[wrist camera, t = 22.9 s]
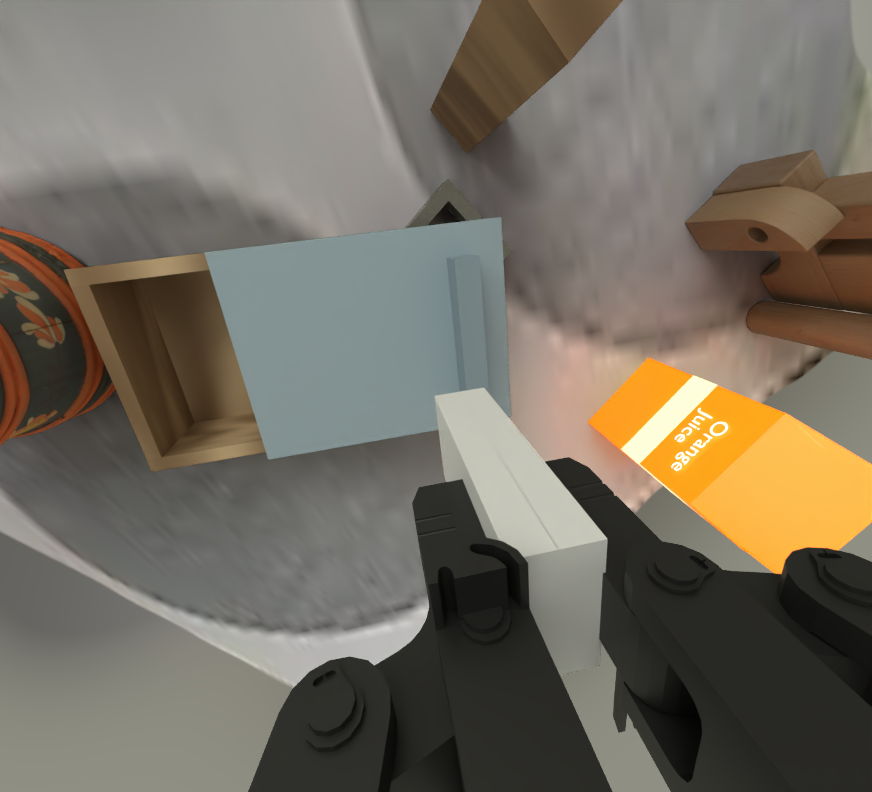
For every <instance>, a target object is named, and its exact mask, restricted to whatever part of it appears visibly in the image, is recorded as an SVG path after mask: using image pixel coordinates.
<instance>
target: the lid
mask: <svg viewBox="0 0 872 792" xmlns="http://www.w3.org/2000/svg"><path fill="white" fill-rule="evenodd" d="M204 254H205V257H206V260H207V263H208V266H209V270H210V273H211V276H212V279H213V283H214V286H215V289H216V292H217V296H218V299H219V302H220V305H221V309H222V312H223V315H224V318H225V321H226V325H227V328H228V331H229V334H230V338H231V341H232V344H233V347H234V351H235V354H236V357H237V360H238V363H239V367H240V370H241V373H242V376H243V380H244V383H245V386H246V389H247V393H248V396H249V399H250V402H251V406H252V409H253V412H254V415H255V418H256V422H257V425H258V428H259V431H260V435H261V438H262V441H263V444H264V448H265V451H266V454H267V457H268V460H270V459H275V458H281V457H287V456H292V455H298V454H304V453H309V452H315V451H321V450H327V449H332V448H338V447H344V446H349V445H355V444H361V443H366V442H372V441H378V440H383V439H389V438H395V437H400V436H406V435H412V434H418V433H423V432H429V431H435V430H438V422H437V413H436V405H435V397H434V396H436V395H442V394H448V393H454V392H461V391H467V390H473V389H479V388H485V389H486V391H487V392H488V393H489V394H490V395H491V397H492V398H493V399H494V400H495V402H496V403H497V404H498V405H499V406H500V408H501V409H502V410H503V411H504V413H505V414H506V415H507V416H508V418H509V417H511V404H510V384H509V363H508V343H507V322H506V302H505V282H504V261H503V241H502V220H501V217H496V218H487V219H479V220H471V221H462V222H454V223H446V224H437V225H429V226H421V227H412V228H404V229H395V230H387V231H379V232H370V233H362V234H354V235H345V236H337V237H329V238H320V239H312V240H304V241H295V242H287V243H279V244H270V245H262V246H254V247H245V248H237V249H229V250H220V251H212V252H204Z"/></svg>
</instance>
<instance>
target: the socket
mask: <svg viewBox="0 0 872 792" xmlns="http://www.w3.org/2000/svg"><path fill="white" fill-rule="evenodd" d="M443 206H445V207H446V208H447V209H448V210H449V211H450V212H451V213H452V214H453V215H454V217H455V218H456V219H457V220H458V221H459V222H462V221H471V220H479V219H483V218H482V216H481V215H480V214H479V213H478V212H477V211H476V210H475V209H474V208H473V206H472V205H471V204H470V203H469V202H468V201H467V200H466V199H465V197H464V196H463V195H462V194H461V193H460V192H459V191H458V190H457V188H456V187H455V186H454V185H453V184H452V183H451V182H450V181H449V180H447V181H445V182H444V183H443V184H442V185H441V186H440V187H439V188H438V190H437V191H436V192H435V193H434V194H433V195H432V197H431V198H430V199H429V200H428V201H427V202H426V204H425V205H424V206H423V207H422V208H421V209H420V211H419V212H418V213H417V214H416V215H415V217H414V218H413V219H412V220H411V221H410V222H409V224H408V225H407V226H406V227H405V228H412V227H421V226H427V225H428V224H429V223H430V222H431V220H432V219H433V218H434V217H435V216H436V215H437V213H438V212H439V211H440V210H441V209H442V208H443ZM502 241H503V240H502ZM511 252H512V250H511V249H510V248H509V247H508V246H507V244H506V243H505V242H504V241H503V261H504V259H505V258H506V257H507V256H508V255H509V254H510V253H511Z"/></svg>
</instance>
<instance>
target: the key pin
mask: <svg viewBox="0 0 872 792" xmlns="http://www.w3.org/2000/svg"><path fill="white" fill-rule="evenodd" d="M622 1H623V0H482V2H481V4H480V6H479V8H478V10H477V12H476V14H475V16H474V18H473V21H472V23H471V25H470V27H469V29H468V31H467V33H466V35H465V37H464V40H463V42H462V44H461V46H460V48H459V50H458V52H457V54H456V56H455V59H454V61H453V63H452V65H451V67H450V69H449V71H448V73H447V75H446V78H445V80H444V82H443V84H442V86H441V88H440V90H439V92H438V94H437V96H436V99H435V101H434V103H433V105H432V107H431V109H430V110H431V111H432V112H433V113H434V115H435V116H436V117H437V118H438V119H439V120H440V122H441V123H442V124H443V125H444V126H445V128H446V129H447V130H448V131H449V132H450V133H451V135H452V136H453V137H454V138H455V139H456V141H457V142H458V143H459V144H460V145H461V147H462V148H463V149H464V150H465V151H466V152H467V153H468V152H470V151H471V150H472V149H473V148H474V147H475V146H476V145H477V144H479V143H480V142H481V141H482V140H483V139H484V138H485V137H486V136H487V135H489V134H490V133H491V132H492V131H493V130H494V129H495V128H496V127H497V126H499V125H500V124H501V123H502V122H503V121H504V120H505V119H506V118H508V117H509V116H510V115H511V114H512V113H513V112H514V111H515V110H516V109H518V108H519V107H520V106H521V105H522V104H523V103H524V102H525V101H527V100H528V99H529V98H530V97H531V96H532V95H533V94H534V93H535V92H537V91H538V90H539V89H540V88H541V87H542V86H543V85H544V84H545V83H547V82H548V81H549V80H550V79H551V78H552V77H553V76H554V75H556V74H557V73H558V72H559V71H560V70H561V69H562V68H563V67H564V66H566V65H567V64H568V63H569V62H570V61H571V60H572V58H573V57H574V56H575V55H576V54H577V53H578V51H579V50H580V49H581V48H582V47H583V46H584V45H585V43H586V42H587V41H588V40H589V39H590V38H591V36H592V35H593V34H594V33H595V32H596V31H597V30H598V28H599V27H600V26H601V25H602V24H603V23H604V21H605V20H606V19H607V18H608V17H609V16H610V15H611V13H612V12H613V11H614V10H615V9H616V8H617V6H618V5H619V4H620V3H621V2H622Z"/></svg>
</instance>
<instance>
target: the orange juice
mask: <svg viewBox="0 0 872 792" xmlns="http://www.w3.org/2000/svg"><path fill="white" fill-rule="evenodd" d="M588 423H589V424H591V425H592V426H593V427H594V428H595V429H596V430H598V431H599V432H600V433H601V434H602V435H603V436H605V437H606V438H607V439H608V440H609V441H611V442H612V443H613V444H614V445H615V446H616V447H618V448H619V449H620V450H621V451H622V452H623V453H625V454H626V455H627V456H628V457H629V458H630V459H632V460H633V461H634V462H635V463H637V464H638V465H639V466H640V467H642V468H643V469H644V470H645V471H646V472H648V473H649V474H650V475H651V476H653V477H654V478H655V479H656V480H657V481H658V482H660V483H661V484H662V485H663V486H664V487H666V488H667V489H668V490H669V491H671V492H672V493H673V494H674V495H675V496H676V497H678V498H679V499H680V500H681V501H683V502H684V503H685V504H686V505H688V506H689V507H691V508H692V509H693V510H694V511H696V512H697V513H698V514H699V515H701V516H702V517H703V518H704V519H706V520H707V521H708V522H709V523H711V524H712V525H713V526H714V527H715V528H717V529H718V530H719V531H720V532H722V533H723V534H724V535H725V536H726V537H728V538H729V539H730V540H731V541H732V542H734V543H735V544H736V545H738V546H739V547H740V548H741V549H742V550H744V551H746V552H748V553H749V554H750V555H751V556H753V557H754V558H755V559H757V560H758V561H759V562H761V563H762V564H763V565H764V566H766V567H767V568H768V569H770V570H771V571H772V572H774V573H777V574H781V573H782V570H783V566H784V563H785V560H786V558H787V557H788V556H789V555H790V553H791V552H792V551H795V550H799V549H802V548H806V547H815V548H829V549H834V550H839V549H840V548H842V547H843V546H844V545H845V544H846V543H847V542H849V541H850V540H851V539H852V538H853V537H855V536H856V535H857V534H858V533H859V532H861V531H862V530H863V529H864V528H865V527H866V526H868V525H869V524H870V523H871V522H872V464H870V463H868V462H867V461H865V460H863V459H862V458H860V457H858V456H857V455H855V454H853V453H852V452H850V451H848V450H847V449H845V448H843V447H841V446H840V445H838V444H837V443H835V442H833V441H832V440H830V439H828V438H827V437H825V436H823V435H822V434H820V433H818V432H817V431H815V430H813V429H812V428H810V427H808V426H806V425H805V424H803V423H801V422H800V421H798V420H796V419H795V418H793V417H791V416H790V415H789V414H786V413H783V412H781V411H779V410H776V409H773V408H771V407H769V406H766V405H764V404H761V403H759V402H756V401H754V400H752V399H749V398H747V397H744V396H742V395H739V394H737V393H734V392H732V391H729V390H727V389H724V388H722V387H719V386H718V385H716V384H714V383H711V382H709V381H706V380H704V379H701V378H699V377H696V376H694V375H693V376H692V375H690V374H687V373H685V372H682V371H680V370H677V369H675V368H672V367H670V366H667V365H665V364H662V363H660V362H658V361H655V360H653V359H650V358H648V359H647V360H646V361H645V362H644V363H643V364H642V365H641V366H640V367H639V368H638V369H637V370H636V372H635V373H634V374H633V375H632V376H631V377H630V378H629V379H628V380H627V381H626V382H625V383H624V384H623V385H622V386H621V387H620V388H619V390H618V391H617V392H616V393H615V394H614V395H613V396H612V397H611V398H610V399H609V400H608V401H607V402H606V403H605V404H604V405H603V406H602V408H601V409H600V410H599V411H598V412H597V413H596V414H595V415H594V416H593V417H592V418H591V419H590V420H589V421H588Z"/></svg>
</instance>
